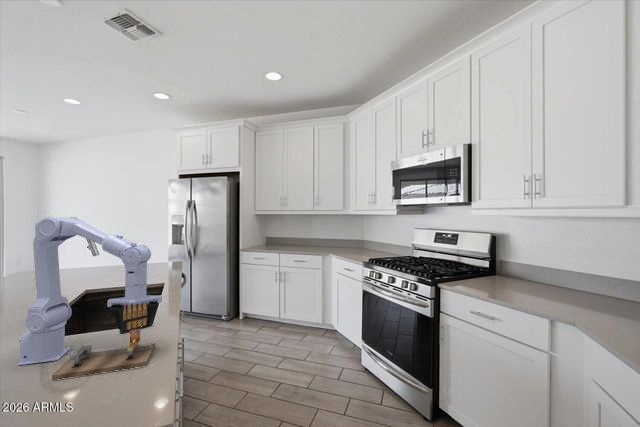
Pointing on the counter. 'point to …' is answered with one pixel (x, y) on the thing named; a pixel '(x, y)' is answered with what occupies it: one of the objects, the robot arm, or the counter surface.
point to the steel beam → (112, 351)
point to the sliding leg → (133, 341)
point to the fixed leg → (81, 354)
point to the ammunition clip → (134, 318)
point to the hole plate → (103, 364)
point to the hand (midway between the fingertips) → (135, 326)
